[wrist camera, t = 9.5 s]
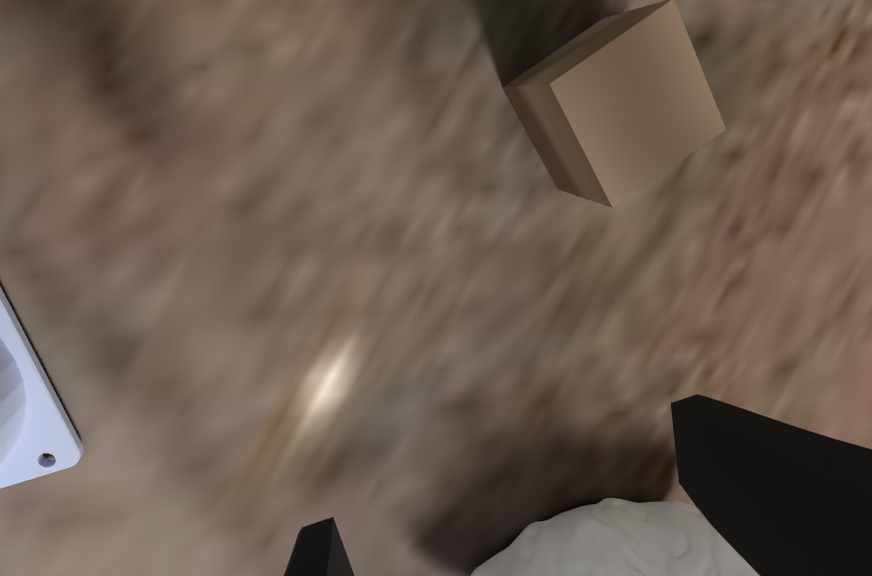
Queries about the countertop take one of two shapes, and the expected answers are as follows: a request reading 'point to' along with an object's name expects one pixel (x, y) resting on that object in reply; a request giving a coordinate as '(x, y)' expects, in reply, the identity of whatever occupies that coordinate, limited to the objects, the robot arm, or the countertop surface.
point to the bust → (620, 544)
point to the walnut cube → (617, 104)
